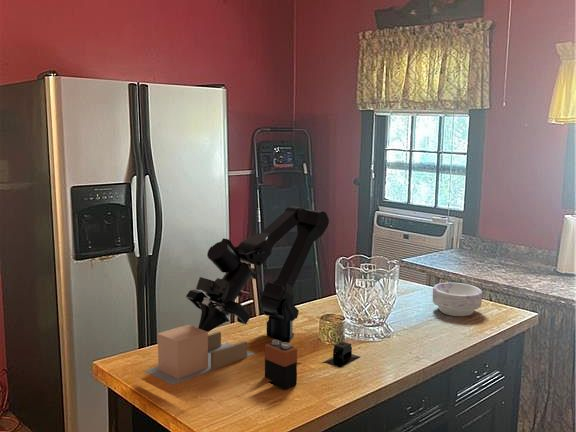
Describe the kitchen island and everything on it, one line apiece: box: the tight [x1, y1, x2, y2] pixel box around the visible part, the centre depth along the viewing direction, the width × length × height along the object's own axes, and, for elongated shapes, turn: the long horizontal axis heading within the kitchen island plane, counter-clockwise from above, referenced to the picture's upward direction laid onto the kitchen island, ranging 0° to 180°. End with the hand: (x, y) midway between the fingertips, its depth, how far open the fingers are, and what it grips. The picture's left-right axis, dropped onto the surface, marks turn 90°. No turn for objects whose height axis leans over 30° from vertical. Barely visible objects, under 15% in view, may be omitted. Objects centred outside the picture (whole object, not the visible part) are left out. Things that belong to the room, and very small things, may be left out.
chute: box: [144, 330, 256, 386], centre depth 151 cm, size 26×11×5 cm, turn 137°
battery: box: [264, 339, 298, 390], centre depth 142 cm, size 4×7×10 cm, turn 45°
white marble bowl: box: [432, 282, 483, 317], centre depth 196 cm, size 15×15×8 cm
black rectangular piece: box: [322, 341, 361, 368], centre depth 157 cm, size 12×7×5 cm, turn 140°
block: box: [157, 324, 209, 379], centre depth 146 cm, size 9×8×9 cm
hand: (198, 335), depth 149 cm, fingers closed, pressing on block
